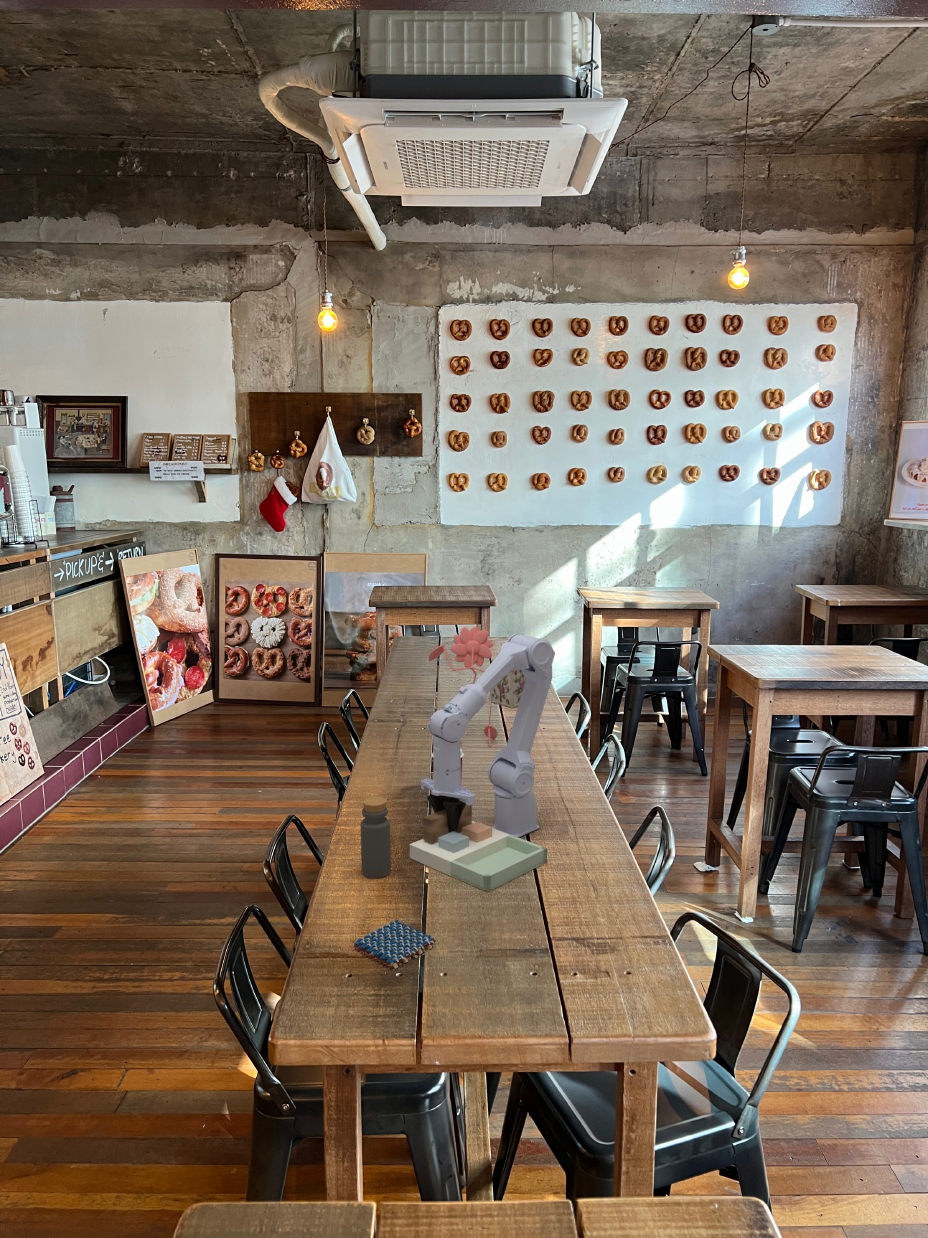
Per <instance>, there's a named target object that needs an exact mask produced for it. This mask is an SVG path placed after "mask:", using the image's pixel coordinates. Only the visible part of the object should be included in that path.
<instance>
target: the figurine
mask: <svg viewBox="0 0 928 1238" xmlns="http://www.w3.org/2000/svg"><path fill="white" fill-rule="evenodd" d="M489 633H490V632H489V631H488V630H485V629H482V630H480V628H479V626H473V627H471V628H470V629H469V628H468V627H466V626H462V628H461V629H460V633H459V634H455V635H454V636H453V641H454V644H453V645H451V646H450V651H451V652H452V653H453V654H455V657H454V661H455V662H456V663H464V664H463V665H464V667H460V668H454V667H453V665H452V663H451V660H450V657H449V654H448V652H447V650H446V649H447V648H446V647H445V646H446V645H445V644H441V645H438V646H437V647H435V648H434V649H433V650H432V651H431V652H430V654H429V655H428V661H429V662H432V661H433V660H435V659H436V660H437V658H439V657H440V656H441V655H442V654H443V653H445V656H446V659H447V662H448V664H449V667H450V669H451V670H452V672H456V671H462V670H464V671H465V670H472V672H473V673H474V676H473V681H472V684H475V682H476V678H477V672H476V671H479V672H482V673H484V672H485V670H486V669H482V668H478V667H482V666H483V665H484V662H485V659H491V658H492V657H493V653H492V650H491V648H492V647H494V643H493V641H492V640H490V639H489V638H488V637H489V635H490V634H489ZM474 665H475V666H476V667H474ZM477 666H478V667H477ZM485 704H488V705H490V706H489V716H488V724H487V725H485V726H484V728H483V732H484V733H483V734H484V735H485V737H487V738H488V747H489V748H491V747H492V745H491V740H492V741H495V740H496V738H497V737H498V731H497V728H496V727H494V726H493V725H491V715H492V707H493V705H492V703H491V702H488V701H487V700H486V703H485Z"/></svg>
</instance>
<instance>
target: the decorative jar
mask: <svg viewBox="0 0 928 1238" xmlns="http://www.w3.org/2000/svg"><path fill="white" fill-rule="evenodd" d="M525 681H526V678H525V676H524V674H523V673H522V671H521V670H512V671H511V672H510V673H509V674H508V675H507V676H506V677H504V678H503V679H502V680H501V681H500V682H499V683H498V684H497V685H496V686H495V687H494V688H493V689H492V690H491V691H490V692H489V698H490V703H492V702H493V703H492V704H495V703H496V705H499V706H503V707H507V708H510V709H515V708H518V705H519V702H520V698H521V695H522V691H523V688H524V685H525Z"/></svg>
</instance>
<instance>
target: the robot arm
mask: <svg viewBox="0 0 928 1238" xmlns="http://www.w3.org/2000/svg"><path fill="white" fill-rule="evenodd" d="M555 652H556V651H555V650H554V648H553V647H552V644H551V643H550V642H549V640H547V639H545V638H537V637H533V636H529V635H526V634H523V633H520V632H516V633H513V634H512V635H510V636H509V637H508V639H507V640H506V641H505V642H504V643H502V645H501V648H500V652H499V653H498V655H496V657H495V658H494V659H493V661H492V662H491V663H490V664H489V665H488V667H487V668H486V669H484V670H485V672H482V674H481V675H480V676H479V677H478V679H477V680H475V683H474V684H473V683H467V684H465V685H464V686H463V685H462V686H461V687H460V688H459V689H458V693H456V694H455V696H454V697H453V698H452V699H451V700H450V701H449V702H448V703H446V704H444V706H443V709H439V710H436V711H435V712H433V714H432V715H431V716H430V718H429V722H428V723H427V724H426V726H427V730H428V732H429V733H430V734H431V736H432V742H433V743H432V745H433V746H432V753H433V757H432V761H433V760H434V764H433V779H432V778H429V777H428V778H427V777H426V778H423V779H421V780H420V789H421V790H424V791H426V790H428V791H431V792H430V793H431V794H429V795H428V796H427V797H426V798H427V801H428V803H429V804H430V806H431V808H432V810H433V813H436V812H438V811H441V810H443V809H445V810H446V814H447V823H448V830H449V832H453V831H455V830H457V829H458V825H459V821H460V818H461V815H462V812H463V810H464V808H465V806H466V805H472V806H473V805H474V804H476V803H477V801H476V793H473V792H471V791H470V790H468V789H467V788H465V787H464V786H463V785H462V776H461V750H460V749H462V748H461V746H462V745H461V739H462V738H463V737H464V736H465V735H466V734H465V733H467V732H466V731H467V727H468V725H469V722H470V721H471V720H472V719H473V717H475V715H476V714H477V713H479V711H480V710H481V709H482V708H483V707H484V706H485V705H486V704H487V703H486V701H487V695H488V694H490V691H491V690H492V689H493V688H494V687H495V686H496V685H497V684H498V683H499V682H500V681H501V680H502V679H503V678H504V677H506V676H507V675H508V674H509V673H510V672H511V671H512V670H521V671H522V673H523V674H524V676H525V678H526V681H525V685H524V688H523V691H522V695H521V698H520V702H519V705H518V707H516V708H517V709H516V712H515V717H514V719H513V723H512V726H511V729H510V732H509V736H508V740H507V742H506V745H505V747H503V748H502V749H500V750H499V751H497V753H496V756H495V759H494V760H493V762H492V763H491V764H490V766H489V768H488V772H487V776H488V780H489V782H490V783H491V784H492V785H493V790H494V824H493V825H491V826H490V827H492V828H493V829H496V830H499V831H502V832H504V833H507V834H510V835H512V836H515V837H518V838H520V837H523V836H525V835H528V834H529V833H531V832H534V831H536V830H538V829H540V828H541V826H540V825H538V819H537V818H538V803H537V799H538V798H537V797H536V794H535V792H534V791H533V790H532V789H533V787H534V783H535V774H534V773H535V769H536V764H535V762H534V760H533V757H532V755H531V751H532V748H533V745H534V741H535V739H536V734H537V731H538V729H539V724H540V721H541V718H542V715H543V711H544V708H545V704H546V700H547V698H548V694H549V690H550V686H551V683H552V680H553V662H554V659H555V655H556V653H555Z"/></svg>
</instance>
